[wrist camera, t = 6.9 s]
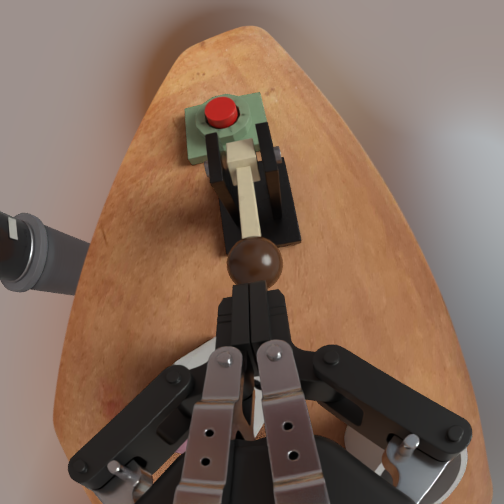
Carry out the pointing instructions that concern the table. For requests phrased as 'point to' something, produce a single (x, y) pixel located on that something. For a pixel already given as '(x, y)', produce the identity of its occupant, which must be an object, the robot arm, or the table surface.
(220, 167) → the bracket
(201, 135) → the button block
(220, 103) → the button
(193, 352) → the electrical switch
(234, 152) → the lever
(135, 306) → the table surface
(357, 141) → the table surface
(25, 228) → the robot arm
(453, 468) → the cup
